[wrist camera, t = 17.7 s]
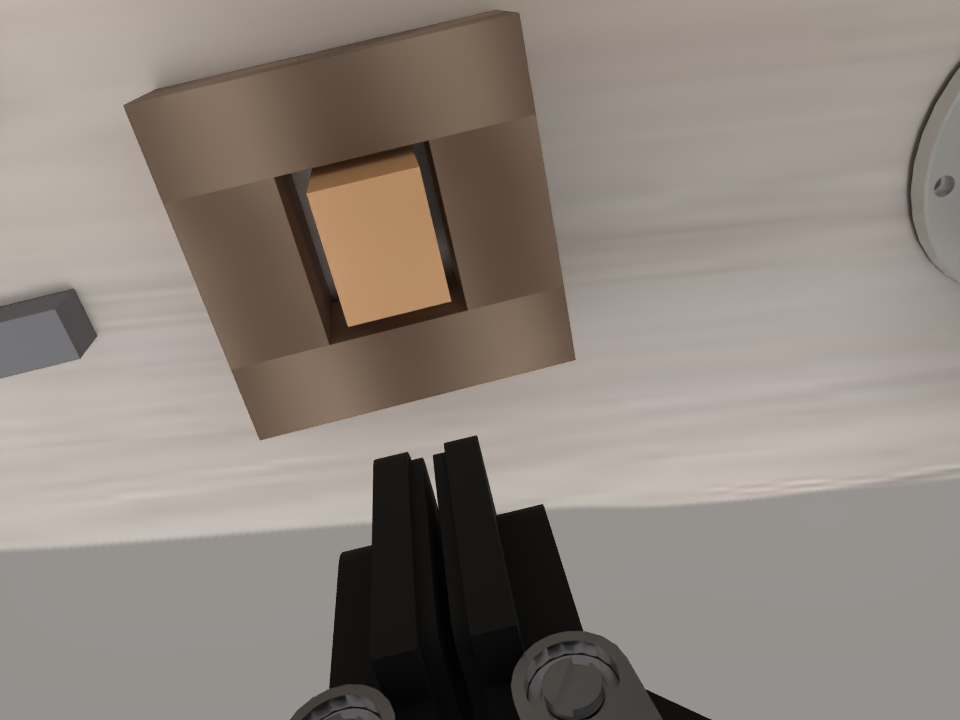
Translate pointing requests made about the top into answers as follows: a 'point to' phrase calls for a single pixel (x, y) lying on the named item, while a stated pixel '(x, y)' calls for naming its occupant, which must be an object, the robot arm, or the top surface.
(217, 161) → the port block
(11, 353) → the grey block stand
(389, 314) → the plug
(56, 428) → the top surface
